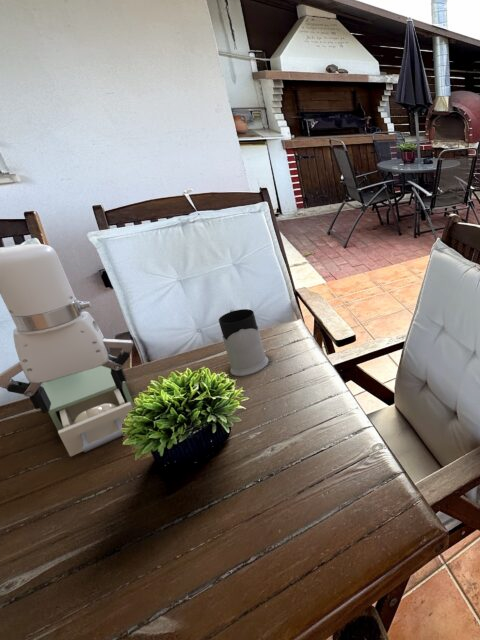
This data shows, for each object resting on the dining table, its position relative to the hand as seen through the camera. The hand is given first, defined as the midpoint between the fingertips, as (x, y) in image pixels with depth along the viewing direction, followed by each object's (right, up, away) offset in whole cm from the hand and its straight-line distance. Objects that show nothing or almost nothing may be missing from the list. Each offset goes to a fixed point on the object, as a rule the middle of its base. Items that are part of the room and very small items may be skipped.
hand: (85, 396), depth 74 cm
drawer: (-5, -11, +9) cm, 15 cm away
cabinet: (-15, -9, +16) cm, 24 cm away
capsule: (-7, -9, +10) cm, 15 cm away
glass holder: (+8, -3, +34) cm, 35 cm away
